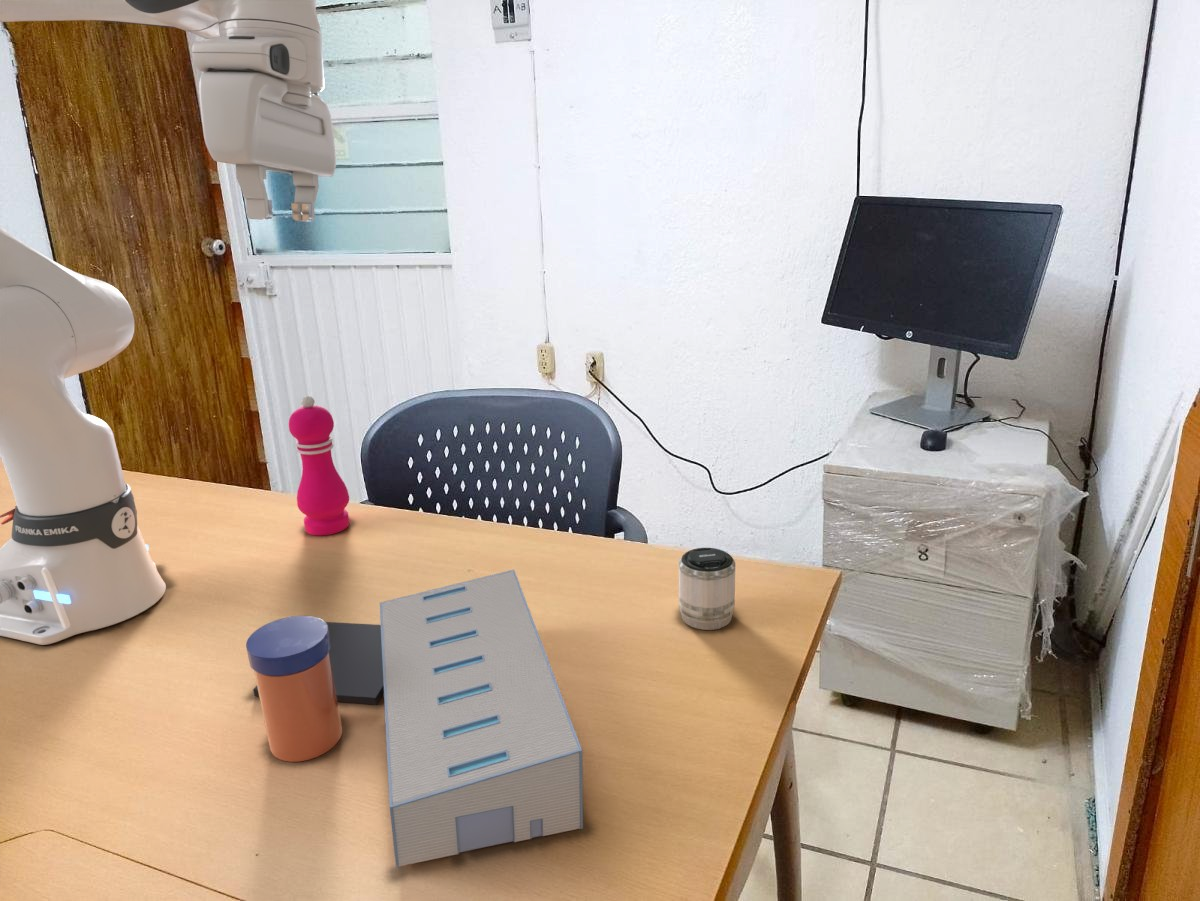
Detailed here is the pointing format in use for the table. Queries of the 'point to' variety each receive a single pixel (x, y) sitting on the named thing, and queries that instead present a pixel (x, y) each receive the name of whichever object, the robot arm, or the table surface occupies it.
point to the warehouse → (474, 723)
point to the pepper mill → (318, 471)
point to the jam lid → (288, 645)
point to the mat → (355, 662)
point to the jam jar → (300, 712)
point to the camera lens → (706, 588)
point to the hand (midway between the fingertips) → (283, 220)
